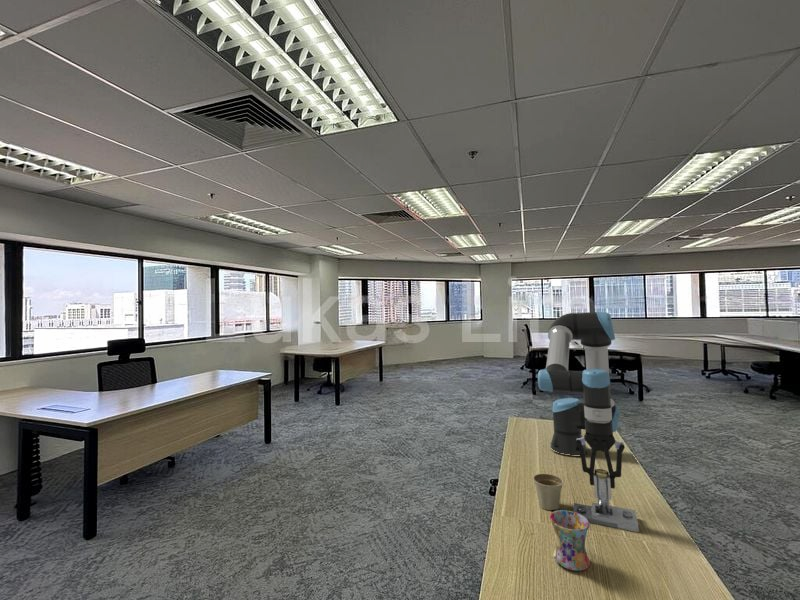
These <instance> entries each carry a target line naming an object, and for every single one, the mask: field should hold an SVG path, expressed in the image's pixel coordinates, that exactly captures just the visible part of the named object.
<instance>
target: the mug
mask: <svg viewBox="0 0 800 600" xmlns="http://www.w3.org/2000/svg"><path fill="white" fill-rule="evenodd" d="M549 520H550V522H551V525H552V526H553V527H552V528H553V530H554V534H555V541H556V543H555V549H554V551H553V554H552V555H553V559H554V560H555V561H556V563H557V564H558V565H560V566H561V567H563V568H565V569H567V570H570V571H575V572H580V571H585V570H587V569H588V568H589V567H590V566H591V565H590V564H591V561H590V558H589V557H588V553H587V551H586V536H587V533H588V530H589V528H590V522H589V521H588V520H587V519H586V518H585V517H584V516H582V515H580V514H578V513H576V512H573V511H571V510H566V509H565V510H564V509H560V510H559V509H558V510H554V511H552V512H551V513H550V515H549Z"/></svg>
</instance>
